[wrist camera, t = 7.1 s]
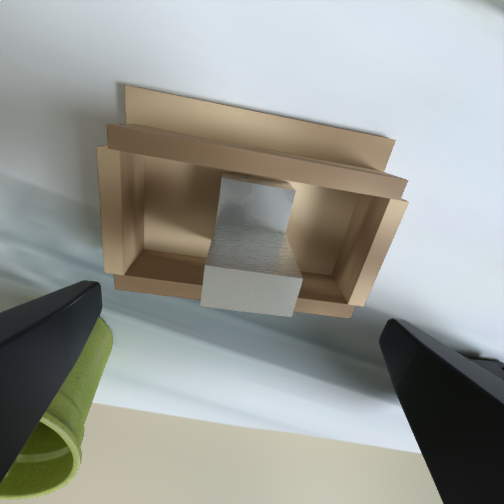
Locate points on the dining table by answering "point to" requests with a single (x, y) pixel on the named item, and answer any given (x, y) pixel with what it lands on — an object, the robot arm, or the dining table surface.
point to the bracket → (252, 249)
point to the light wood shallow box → (249, 164)
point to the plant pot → (60, 427)
